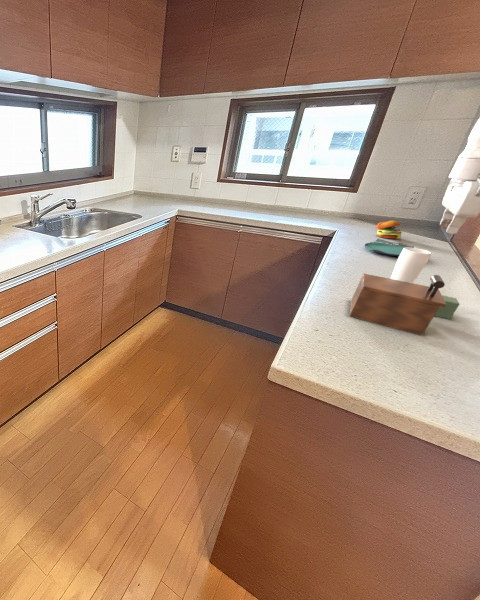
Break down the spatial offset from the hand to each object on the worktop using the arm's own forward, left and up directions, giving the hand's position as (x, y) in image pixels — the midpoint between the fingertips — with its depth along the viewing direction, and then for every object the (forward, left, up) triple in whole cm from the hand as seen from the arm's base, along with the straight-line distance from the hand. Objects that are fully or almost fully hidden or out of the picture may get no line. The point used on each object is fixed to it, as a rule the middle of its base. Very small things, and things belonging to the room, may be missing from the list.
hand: (446, 229), depth 83 cm
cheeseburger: (-1, -114, -26) cm, 117 cm away
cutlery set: (-2, -83, -26) cm, 87 cm away
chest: (+4, +4, -26) cm, 26 cm away
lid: (+3, +3, -17) cm, 18 cm away
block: (-9, -10, -26) cm, 29 cm away
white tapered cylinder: (0, -21, -26) cm, 34 cm away
